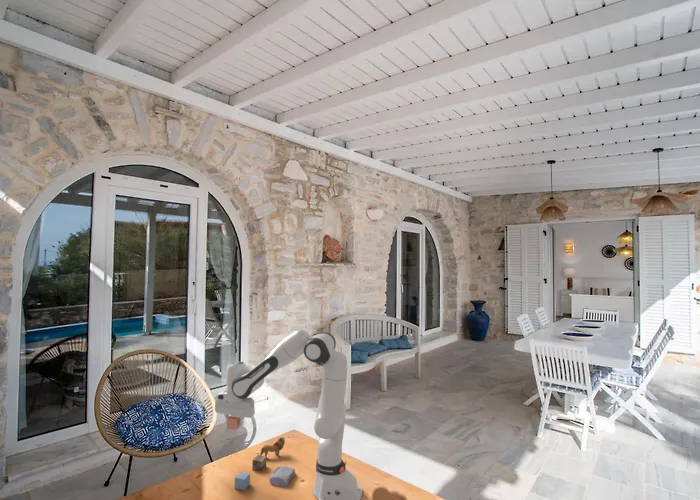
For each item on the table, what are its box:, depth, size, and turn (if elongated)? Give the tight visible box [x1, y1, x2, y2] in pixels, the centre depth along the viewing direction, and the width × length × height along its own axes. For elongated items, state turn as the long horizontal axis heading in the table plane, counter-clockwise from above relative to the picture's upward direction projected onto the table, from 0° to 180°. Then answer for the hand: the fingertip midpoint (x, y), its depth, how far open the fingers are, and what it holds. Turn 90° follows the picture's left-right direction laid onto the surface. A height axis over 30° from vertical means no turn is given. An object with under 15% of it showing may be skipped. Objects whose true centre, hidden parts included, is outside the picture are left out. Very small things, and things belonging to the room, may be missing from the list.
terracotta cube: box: [226, 415, 243, 431], centre depth 192 cm, size 5×5×5 cm
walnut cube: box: [251, 454, 267, 472], centre depth 197 cm, size 5×5×5 cm
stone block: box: [269, 465, 296, 488], centre depth 188 cm, size 12×5×10 cm
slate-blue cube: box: [234, 471, 251, 491], centre depth 181 cm, size 5×5×5 cm
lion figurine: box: [259, 436, 286, 461], centre depth 208 cm, size 15×5×9 cm, turn 124°
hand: (234, 423), depth 192 cm, fingers closed on terracotta cube, 5 cm apart
